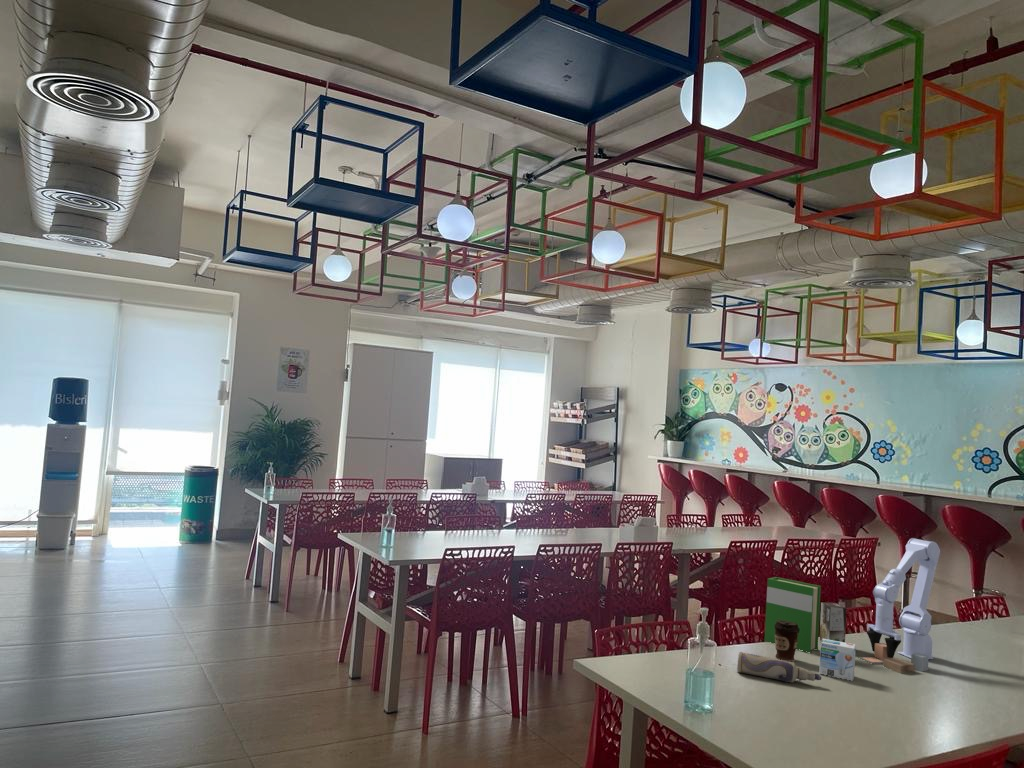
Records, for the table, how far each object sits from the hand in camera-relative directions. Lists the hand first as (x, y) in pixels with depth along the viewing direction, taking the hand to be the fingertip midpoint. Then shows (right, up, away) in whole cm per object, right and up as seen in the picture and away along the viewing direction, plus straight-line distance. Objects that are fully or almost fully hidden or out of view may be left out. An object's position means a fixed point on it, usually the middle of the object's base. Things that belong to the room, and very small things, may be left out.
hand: (882, 654), depth 271 cm
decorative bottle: (-53, +4, -34) cm, 63 cm away
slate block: (+8, -1, -10) cm, 13 cm away
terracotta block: (0, -2, 0) cm, 2 cm away
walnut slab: (-1, -1, -13) cm, 13 cm away
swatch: (-6, -1, -5) cm, 8 cm away
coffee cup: (-41, +2, -11) cm, 42 cm away
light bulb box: (-28, +2, -25) cm, 38 cm away
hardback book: (-31, 0, +8) cm, 32 cm away
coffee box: (-14, -1, +11) cm, 18 cm away
